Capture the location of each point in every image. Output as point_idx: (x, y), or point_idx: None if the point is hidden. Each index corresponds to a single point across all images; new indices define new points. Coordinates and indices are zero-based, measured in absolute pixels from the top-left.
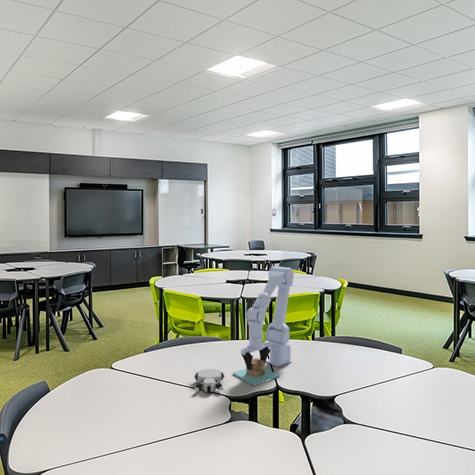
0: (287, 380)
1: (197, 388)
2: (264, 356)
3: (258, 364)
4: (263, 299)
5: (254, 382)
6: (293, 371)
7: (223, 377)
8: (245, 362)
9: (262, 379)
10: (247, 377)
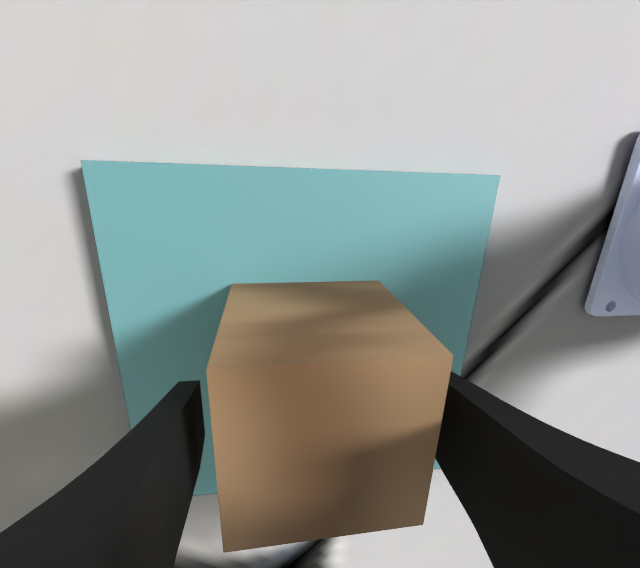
0: (429, 516)
1: None
2: (498, 554)
3: (301, 528)
4: None
5: None
6: (579, 435)
7: None
8: (118, 453)
9: None
10: (175, 372)
